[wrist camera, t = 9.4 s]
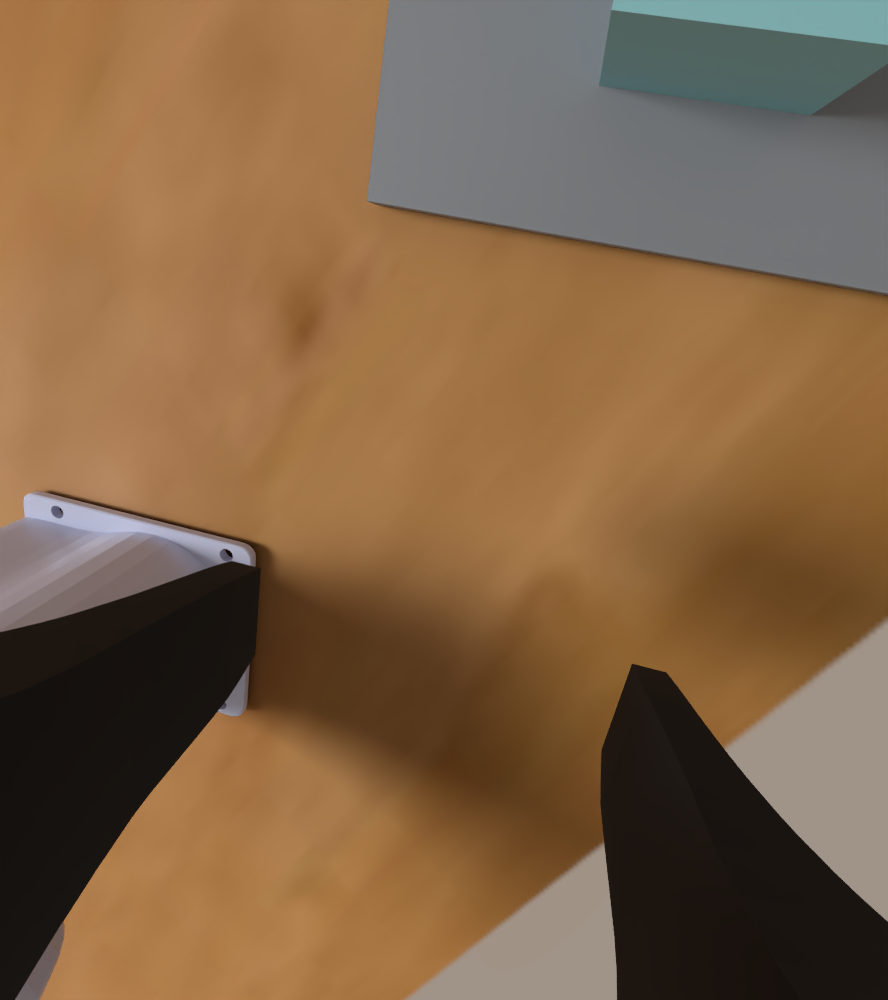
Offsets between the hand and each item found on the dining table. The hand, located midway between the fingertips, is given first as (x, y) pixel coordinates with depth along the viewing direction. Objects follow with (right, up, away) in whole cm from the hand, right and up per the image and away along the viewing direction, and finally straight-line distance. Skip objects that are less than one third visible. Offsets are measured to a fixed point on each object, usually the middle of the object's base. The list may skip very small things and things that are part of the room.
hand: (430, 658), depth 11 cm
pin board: (+7, +15, +3) cm, 17 cm away
